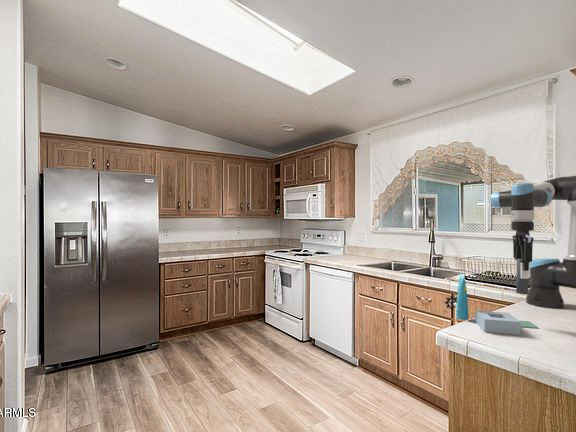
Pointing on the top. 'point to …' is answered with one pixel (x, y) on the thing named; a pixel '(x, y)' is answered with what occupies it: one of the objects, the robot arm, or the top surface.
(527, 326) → the pad
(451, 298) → the valve
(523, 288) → the plug
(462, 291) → the tube
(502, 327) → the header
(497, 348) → the top surface
